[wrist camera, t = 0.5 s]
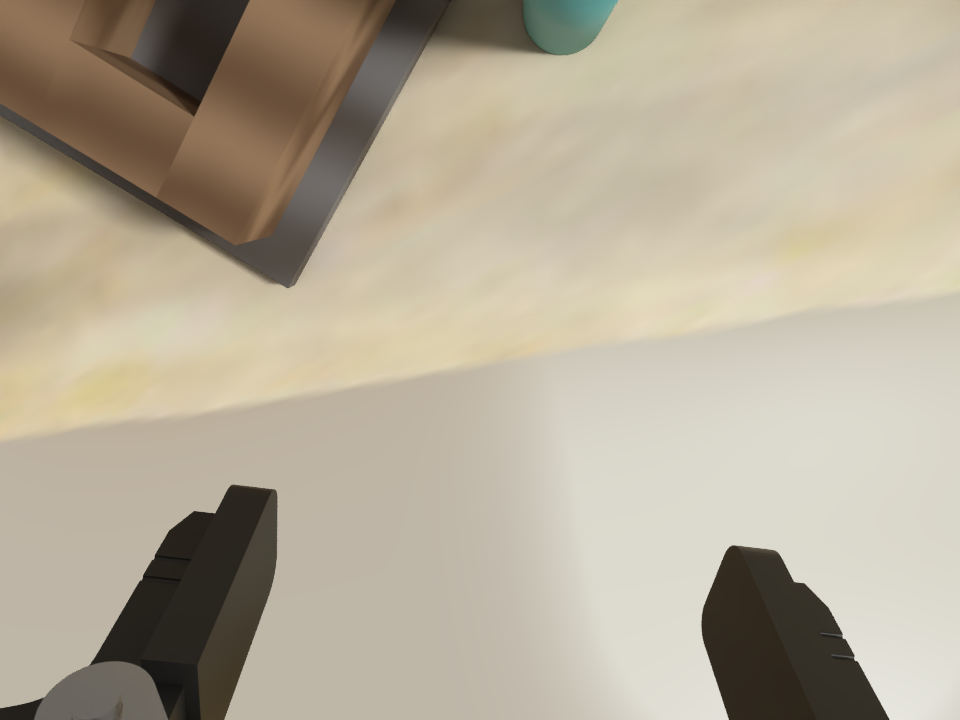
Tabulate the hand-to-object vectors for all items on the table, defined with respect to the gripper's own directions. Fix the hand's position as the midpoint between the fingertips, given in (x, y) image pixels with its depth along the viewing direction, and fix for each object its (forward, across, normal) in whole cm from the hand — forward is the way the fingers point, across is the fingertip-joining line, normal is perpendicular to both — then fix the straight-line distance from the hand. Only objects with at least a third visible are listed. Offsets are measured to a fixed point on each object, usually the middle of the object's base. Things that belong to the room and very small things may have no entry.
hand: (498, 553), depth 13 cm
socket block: (+29, +14, -4) cm, 33 cm away
